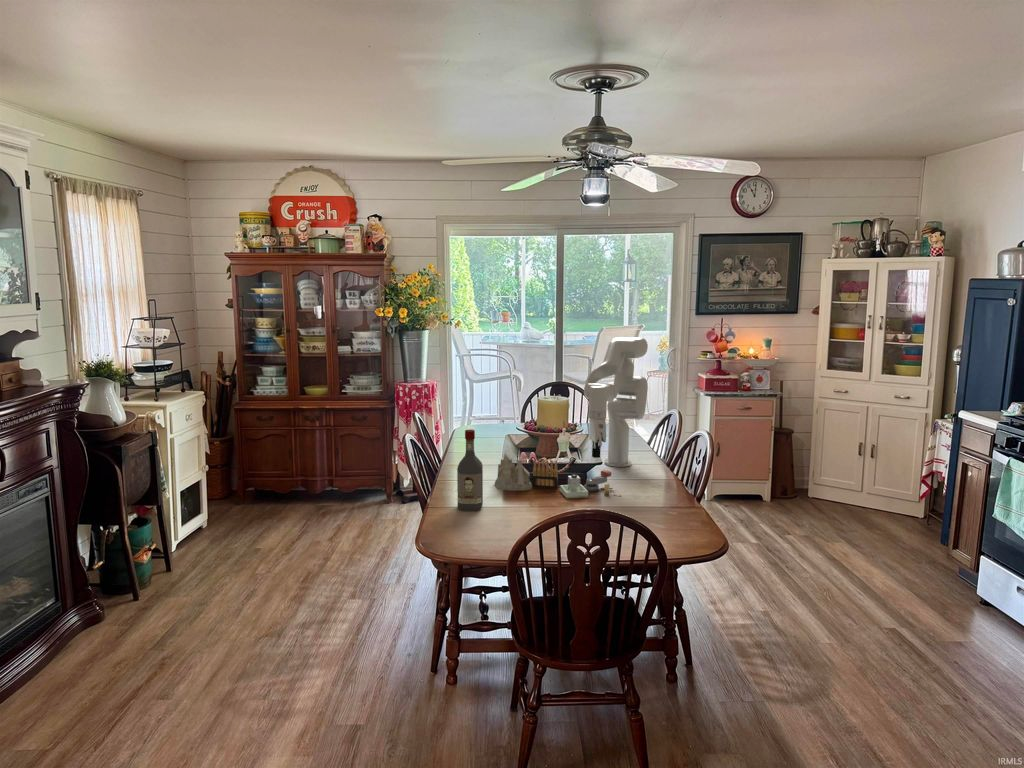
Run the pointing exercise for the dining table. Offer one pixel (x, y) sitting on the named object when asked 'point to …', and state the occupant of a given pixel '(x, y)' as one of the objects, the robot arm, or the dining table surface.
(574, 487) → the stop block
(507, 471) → the grey castle model
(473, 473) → the liquor
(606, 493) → the crank pedestal
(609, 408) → the robot arm
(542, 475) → the ammunition clip
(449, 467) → the dining table surface
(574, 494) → the tray
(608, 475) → the crank
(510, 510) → the dining table surface
